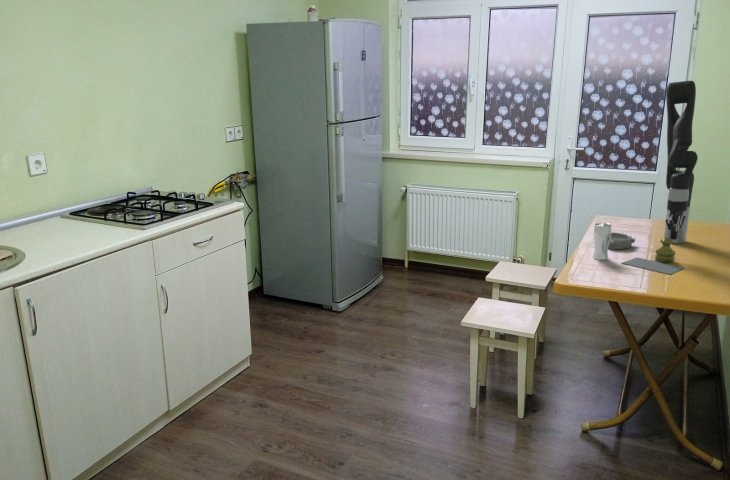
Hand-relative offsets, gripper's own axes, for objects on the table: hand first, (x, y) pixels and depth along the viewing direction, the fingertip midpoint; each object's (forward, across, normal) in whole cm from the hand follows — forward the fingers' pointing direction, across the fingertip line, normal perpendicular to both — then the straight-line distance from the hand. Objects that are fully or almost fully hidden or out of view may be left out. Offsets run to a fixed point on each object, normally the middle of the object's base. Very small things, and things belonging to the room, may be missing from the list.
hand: (673, 239), depth 248 cm
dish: (+9, -2, -26) cm, 28 cm away
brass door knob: (+9, +6, 0) cm, 10 cm away
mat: (+9, +16, 0) cm, 18 cm away
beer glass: (+9, +21, -20) cm, 30 cm away
